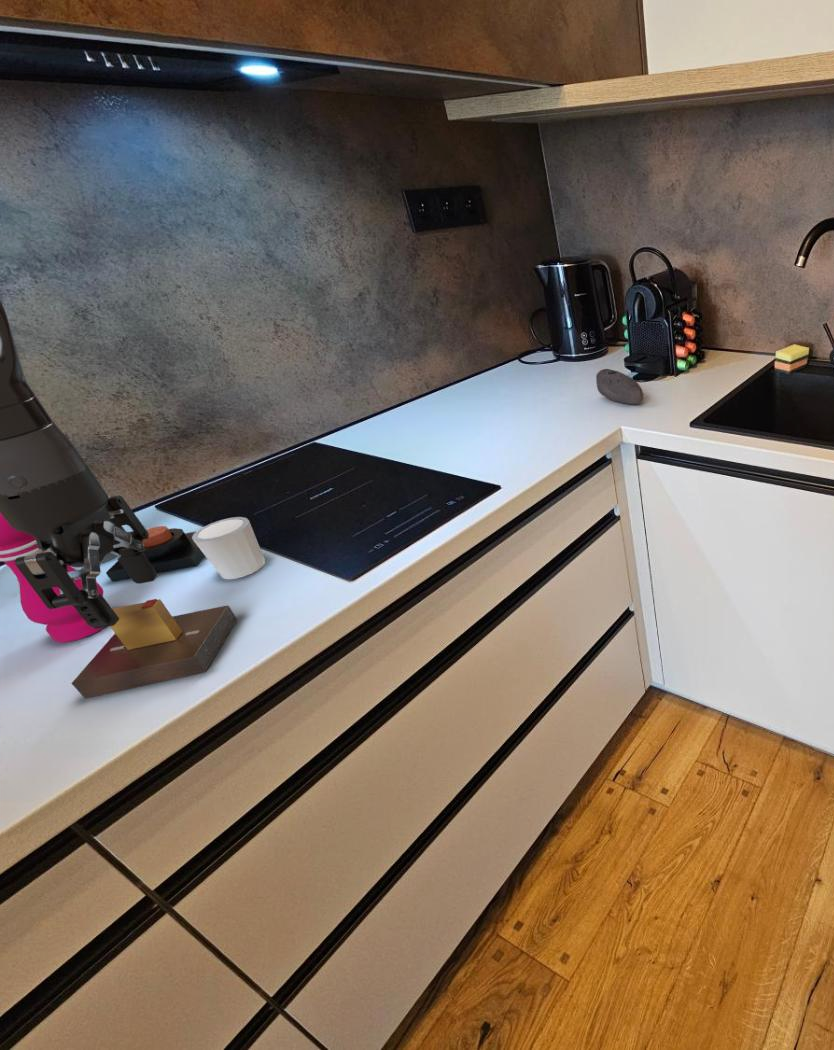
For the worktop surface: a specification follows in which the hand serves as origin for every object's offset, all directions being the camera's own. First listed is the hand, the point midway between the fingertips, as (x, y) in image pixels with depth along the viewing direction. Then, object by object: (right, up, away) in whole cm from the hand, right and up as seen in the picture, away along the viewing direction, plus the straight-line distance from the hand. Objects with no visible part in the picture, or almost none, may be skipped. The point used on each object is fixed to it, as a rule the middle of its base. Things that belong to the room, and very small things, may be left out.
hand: (128, 601), depth 67 cm
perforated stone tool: (+47, +38, +74) cm, 96 cm away
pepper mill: (-16, -5, +11) cm, 20 cm away
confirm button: (-18, +6, +23) cm, 30 cm away
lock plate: (0, -7, +4) cm, 8 cm away
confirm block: (-18, +4, +25) cm, 30 cm away
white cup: (-3, +2, +21) cm, 21 cm away
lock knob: (0, -5, +3) cm, 6 cm away
